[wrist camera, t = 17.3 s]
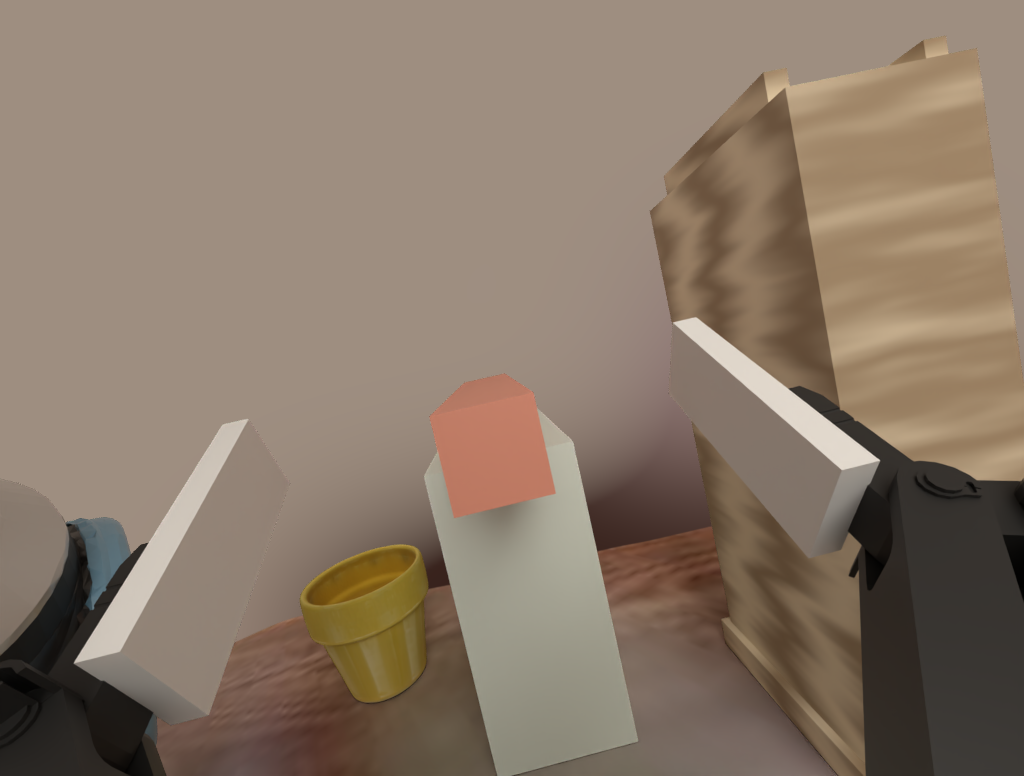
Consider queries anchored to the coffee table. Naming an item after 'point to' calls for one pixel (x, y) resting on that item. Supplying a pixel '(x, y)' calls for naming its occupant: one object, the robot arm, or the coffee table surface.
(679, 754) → the coffee table surface
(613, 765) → the coffee table surface
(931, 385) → the birch stand
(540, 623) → the pale green paneled block
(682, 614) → the coffee table surface
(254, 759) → the coffee table surface
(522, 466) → the coral square-faced block
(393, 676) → the plant pot
